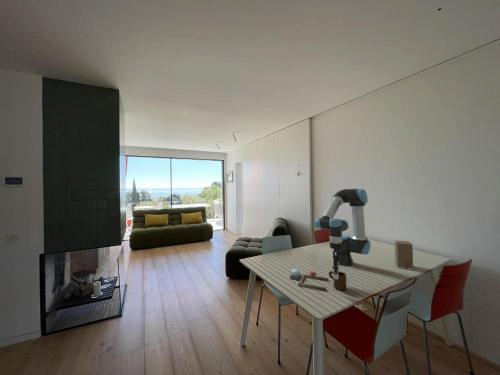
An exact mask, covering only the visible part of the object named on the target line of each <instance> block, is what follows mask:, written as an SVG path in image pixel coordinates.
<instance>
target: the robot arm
mask: <svg viewBox="0 0 500 375" xmlns="http://www.w3.org/2000/svg"><path fill="white" fill-rule="evenodd" d="M368 199H369V198H368V194H367V192H366V190H365V189H364V188H348V189H347V188H343V189H341V190H339V191H337V192H336V193H335V194H333V196H332V197H331V201H330V203H329V205H328V206H327V207H326V209H325V211H324V212H323V214H322V215H321V217H319V218H316V219H315V220H314V225H315V228H316V229H318V230H326V231H327V230H328V231H329V236H328V239H329V248H330V249H331V250H332V258H333V260H332V261H333V262H332V264H333V266H332V267H331V268H332V271H333V272H334V275H333V276H334V279H338V272H340V266H352V265H354V260H353V258H352V255H351V253H352V254H359V255H367V256H368V254H369V253H370V251H371V245H372V244H371V243H372V242H371V241H370V240H369V239H368V238H369V237H367V236H366V227H365V226H366V225H365V212H364V207H365V206H366V204H368ZM343 204H348V205H349V207H351V218H352V232H353V233H352V234H353V235H352V236H350V235H343V232H344V231H347V230H348V229H349V227H350V224H349V222H348V221H347V220H345V219H341V218H336V217H335V216H336V214H337V212H338V210H339V209H340V207H341V206H343ZM334 217H335V218H334Z"/></svg>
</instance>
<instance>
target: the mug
mask: <svg viewBox="0 0 500 375" xmlns="http://www.w3.org/2000/svg"><path fill="white" fill-rule="evenodd" d="M328 276H329V279H332V280H333V288H334V289H335V290H336V291H341V292H342V291H346V290H347V274H346V273H345V272H342V271H339V272H338V279H334V271H333V270H329V272H328Z"/></svg>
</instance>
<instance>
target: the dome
mask: <svg viewBox="0 0 500 375" xmlns="http://www.w3.org/2000/svg"><path fill="white" fill-rule="evenodd" d="M291 273H292V275H293V276H300V273H301V270H300V269H298V268H293V269H291Z"/></svg>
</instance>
